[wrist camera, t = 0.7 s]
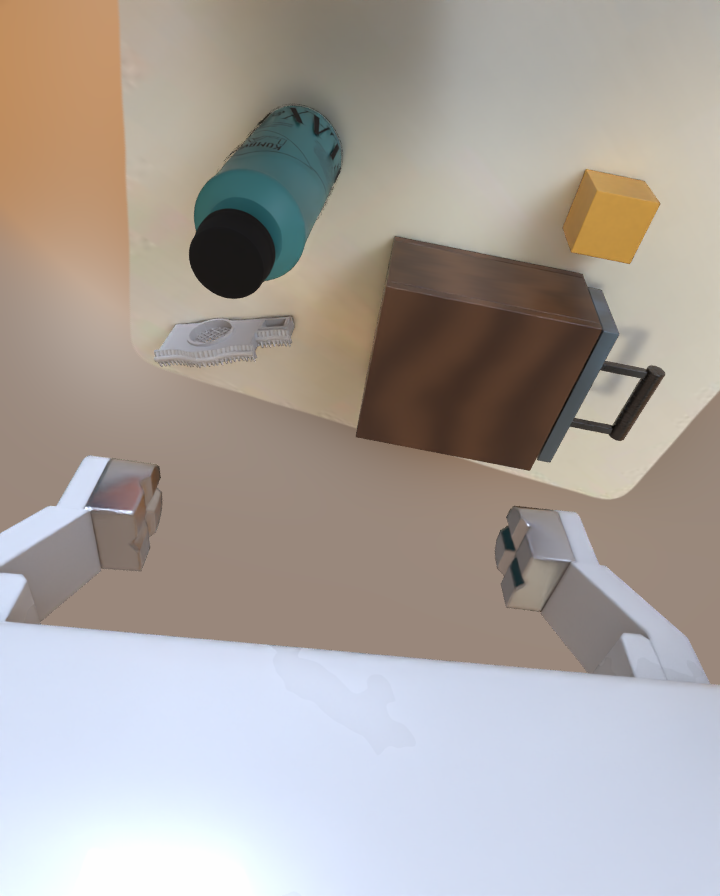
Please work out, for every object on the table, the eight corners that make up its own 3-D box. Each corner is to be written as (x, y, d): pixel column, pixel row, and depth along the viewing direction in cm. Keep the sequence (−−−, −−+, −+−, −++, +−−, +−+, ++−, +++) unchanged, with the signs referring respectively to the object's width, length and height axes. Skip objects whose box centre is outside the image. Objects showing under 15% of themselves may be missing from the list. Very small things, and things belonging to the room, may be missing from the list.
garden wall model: (294, 312, 53) (280, 348, 49) (298, 330, 54) (285, 366, 50) (172, 321, 55) (148, 356, 51) (178, 337, 56) (155, 373, 52)
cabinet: (582, 273, 47) (602, 329, 41) (521, 409, 57) (530, 471, 51) (394, 235, 47) (386, 285, 41) (366, 379, 57) (355, 437, 51)
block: (644, 181, 42) (660, 203, 39) (617, 239, 45) (630, 264, 42) (585, 168, 42) (596, 190, 39) (562, 228, 45) (570, 252, 42)
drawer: (667, 302, 47) (693, 348, 42) (596, 425, 56) (611, 474, 51) (426, 254, 47) (423, 295, 42) (394, 385, 56) (389, 431, 51)
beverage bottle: (362, 166, 44) (317, 295, 29) (289, 205, 46) (214, 341, 32) (318, 76, 40) (241, 171, 26) (241, 124, 43) (132, 236, 28)
